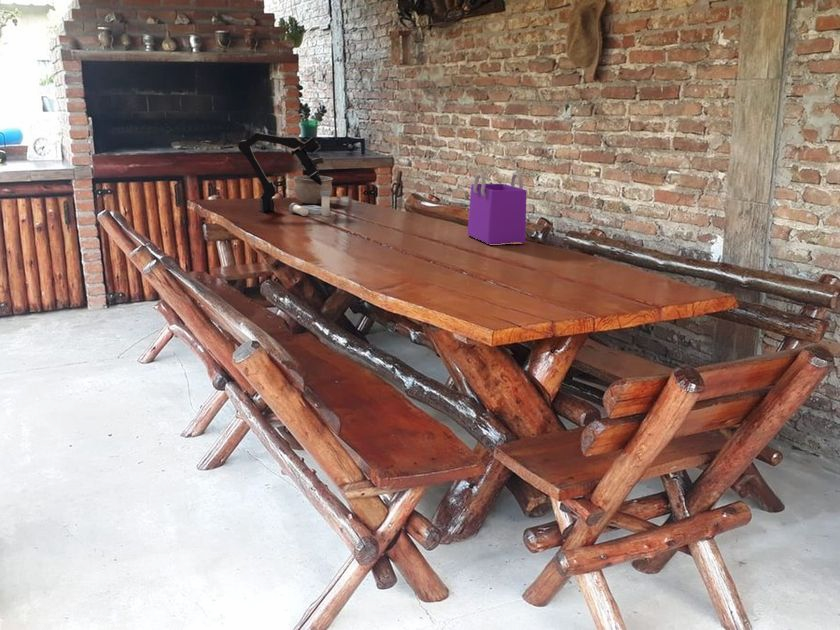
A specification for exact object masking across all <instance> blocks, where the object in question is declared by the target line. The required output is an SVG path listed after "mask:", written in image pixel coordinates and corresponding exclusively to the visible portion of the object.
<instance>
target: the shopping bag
mask: <svg viewBox="0 0 840 630" xmlns="http://www.w3.org/2000/svg"><path fill="white" fill-rule="evenodd" d="M516 178H518V186H516V185H515V184H516V183H515V182H516ZM480 179H481V183H479V180H480ZM469 197H470V198H469V209H468V210H469V211H468V224H467V236H468V235H469V236H472V237H474V238H477V239H479V240H481V241H483V242H486V243H488V244H501V243H511V242H512V243H513V242H521V243H525V244H526V232H527V231H526V229H527V228H526V226H527V189H524V180H523V177H522V174H521V173H519V172H518V171H517V172H514V173H513V174H512V176H511V179H510V185H509V184H507V183H506V184H505V183H486V177H485V175H484V173H482V172H478V173H477V174H476V175H475V177H474V180H473V183H472V184H471V185H470V196H469ZM469 236H468V237H469Z"/></svg>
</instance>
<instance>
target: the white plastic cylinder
mask: <svg viewBox="0 0 840 630" xmlns="http://www.w3.org/2000/svg"><path fill="white" fill-rule="evenodd" d="M301 206H302V205H300V204H298V203H296V202H292V203H290V205H289V207H288V208H289V209H288V210H289V211H290V213H292V214H298V215H300V216H303V217H307V216H308V214H309V213H308V210H307V209H306V208H303V207H301Z"/></svg>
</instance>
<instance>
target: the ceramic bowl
mask: <svg viewBox="0 0 840 630" xmlns="http://www.w3.org/2000/svg"><path fill="white" fill-rule="evenodd" d="M319 176H320V178H321V181H322V185H319V184H318V183H316V182H315V181H313V180H312V179H310V178H309V177H308V176H307V175H306V174H305V175H302V177H301V178H300V177H299V176H298V175H297V176H293V179H294V184H293V185H294V186H293V192H294V193H295V196H296V198H298V199H299V201H300V202H302V203H303V204H307V205H308V204H310V205H316V204H322V196H321V195H320V191H331V194H333V185H332V182H333V180H334V178H333V177H330V176H326V175H325V176H324V175H319ZM330 196H331V195H330ZM330 196H329V198H330Z"/></svg>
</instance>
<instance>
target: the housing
mask: <svg viewBox="0 0 840 630" xmlns="http://www.w3.org/2000/svg"><path fill="white" fill-rule="evenodd" d="M300 206H301V207H303V208H306V209H307V210H308V214H312V215H315V216H316V215H322V206H319V205H316V204H310V205H300ZM329 214H331V208H329Z"/></svg>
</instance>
